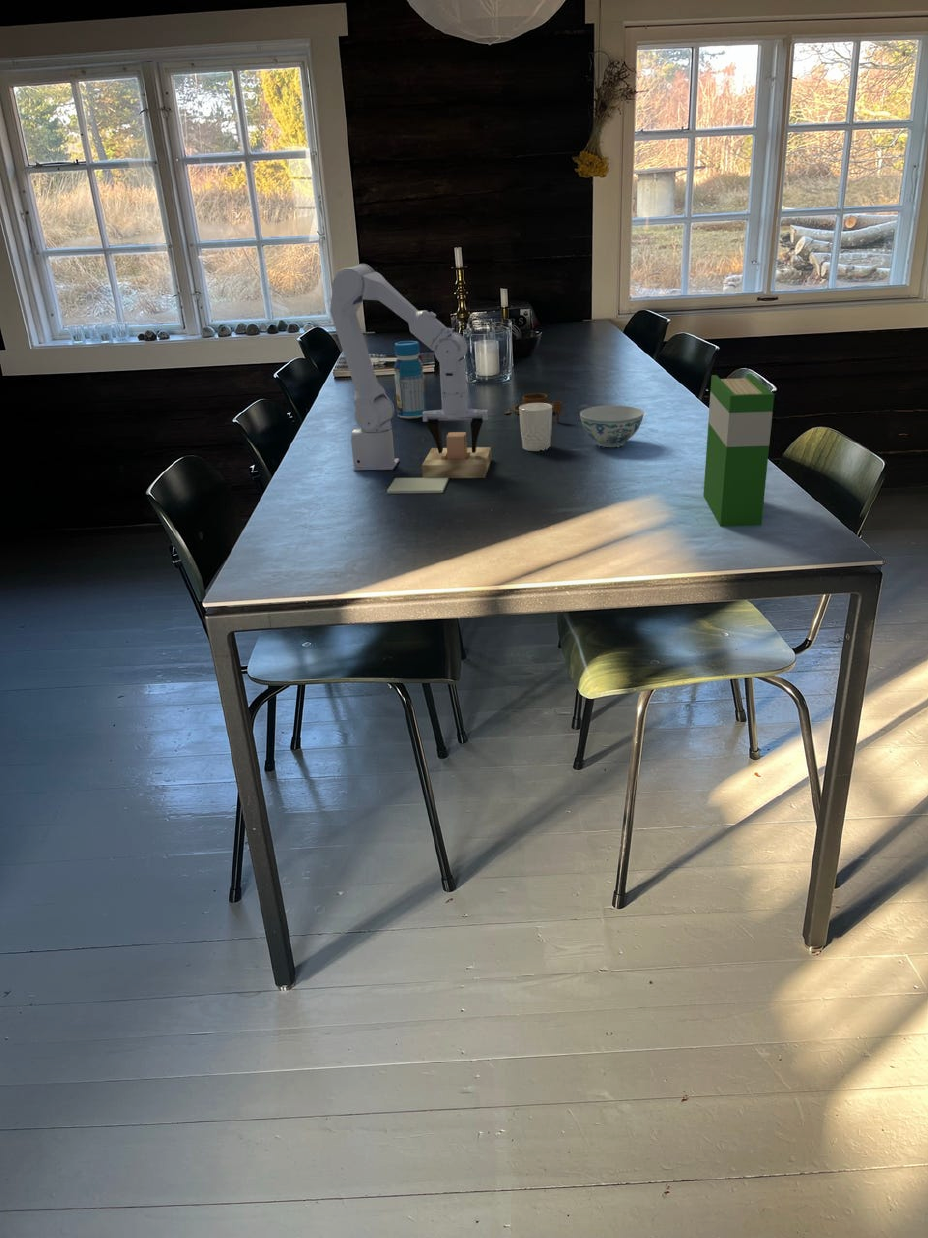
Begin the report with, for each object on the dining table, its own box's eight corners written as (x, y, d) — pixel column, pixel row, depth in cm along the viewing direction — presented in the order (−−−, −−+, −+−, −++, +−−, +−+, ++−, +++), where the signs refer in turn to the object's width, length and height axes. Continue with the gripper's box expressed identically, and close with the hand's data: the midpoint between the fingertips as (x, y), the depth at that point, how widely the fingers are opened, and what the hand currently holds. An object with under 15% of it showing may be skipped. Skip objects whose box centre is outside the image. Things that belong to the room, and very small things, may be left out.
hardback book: (703, 495, 184) (711, 375, 174) (740, 494, 184) (751, 373, 173) (720, 526, 168) (730, 395, 158) (761, 525, 168) (774, 394, 157)
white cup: (526, 453, 218) (525, 411, 214) (515, 445, 225) (514, 404, 220) (557, 449, 220) (557, 408, 215) (545, 441, 227) (545, 401, 222)
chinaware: (641, 453, 214) (642, 420, 210) (577, 452, 217) (577, 420, 213) (643, 436, 227) (644, 405, 223) (582, 435, 230) (582, 405, 226)
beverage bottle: (414, 420, 253) (408, 346, 244) (391, 417, 258) (384, 344, 249) (433, 413, 259) (428, 341, 250) (410, 410, 264) (405, 339, 255)
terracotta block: (448, 471, 208) (446, 436, 204) (450, 466, 211) (448, 432, 208) (465, 471, 207) (463, 436, 204) (467, 466, 211) (466, 432, 207)
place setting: (568, 407, 260) (568, 387, 257) (564, 425, 242) (564, 403, 239) (507, 408, 262) (506, 387, 260) (498, 426, 245) (498, 404, 242)
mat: (387, 493, 196) (386, 490, 195) (395, 480, 204) (395, 477, 203) (442, 493, 194) (442, 490, 194) (448, 480, 202) (448, 477, 202)
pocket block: (422, 478, 204) (422, 465, 203) (432, 460, 217) (431, 447, 215) (485, 477, 202) (484, 464, 201) (491, 459, 215) (490, 447, 213)
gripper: (418, 396, 199) (422, 457, 205) (484, 394, 197) (487, 456, 203) (423, 389, 205) (427, 448, 211) (487, 387, 203) (490, 447, 209)
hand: (457, 451), depth 208 cm, fingers open, 7 cm apart
